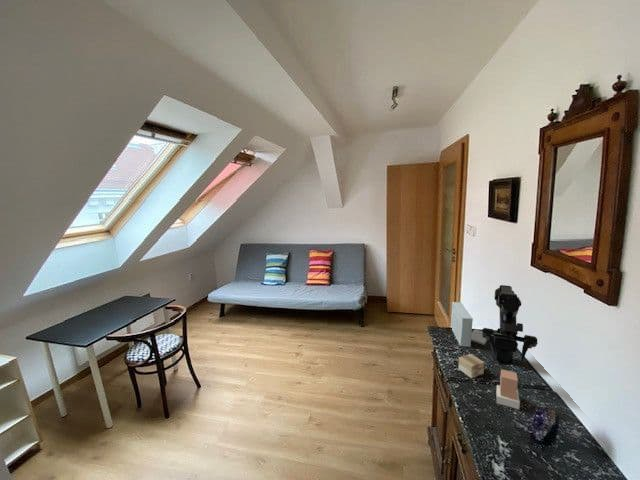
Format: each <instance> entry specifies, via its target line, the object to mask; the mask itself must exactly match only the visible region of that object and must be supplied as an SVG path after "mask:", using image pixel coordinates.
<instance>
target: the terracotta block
mask: <svg viewBox="0 0 640 480" xmlns="http://www.w3.org/2000/svg"><path fill="white" fill-rule="evenodd" d="M499 378H500V381H499V386H500V395H501V396H504V397H508V398H511V399H515V400H516V396H517V390H518V385H519V384H518V383H519V382H518V381H519V379H518V374H517V372H515V371H510V370H507V369H500V377H499Z"/></svg>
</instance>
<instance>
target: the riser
mask: <svg viewBox="0 0 640 480" xmlns="http://www.w3.org/2000/svg"><path fill="white" fill-rule="evenodd" d="M495 392H496V404H498V405H502V406H506V407H509V408H512V409H515V410H520V406H521V405H520V403H521V402H520V396H519V390H518V389H517V396H516V400H515V399H511V398H508V397H504V396H501V395H500V384H496V391H495Z"/></svg>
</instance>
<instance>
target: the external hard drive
mask: <svg viewBox="0 0 640 480" xmlns="http://www.w3.org/2000/svg"><path fill="white" fill-rule="evenodd" d="M482 331H483V330H479V329H474V330H473V329H472V334H471V343H472V342H473V343H476V344H480V345H483V346H484V345H486V343H487V342H488V340H486V338H483V337H482Z"/></svg>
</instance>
